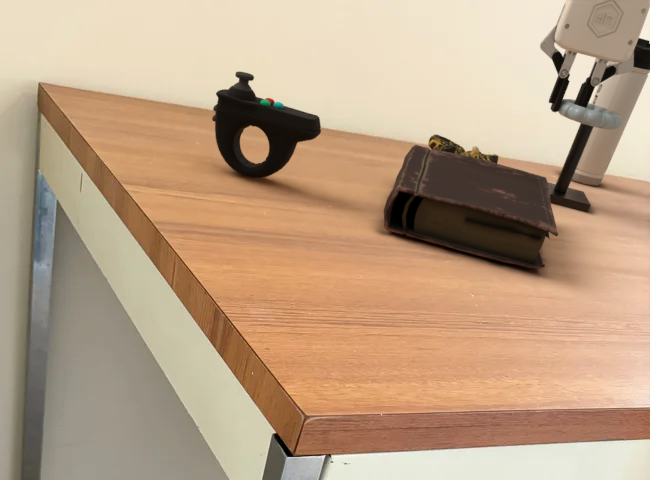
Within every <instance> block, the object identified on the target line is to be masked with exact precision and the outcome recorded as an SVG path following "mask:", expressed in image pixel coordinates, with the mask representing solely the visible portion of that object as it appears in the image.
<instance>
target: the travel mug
mask: <svg viewBox="0 0 650 480" xmlns="http://www.w3.org/2000/svg"><path fill="white" fill-rule="evenodd" d="M617 63H620V62H611V61H608V63H607V66H608V65H613V64H617ZM649 74H650V40H648V39H644V38H641V37H639V38H638V41H637V44H636V46H635V48H634V66H633V70H632V71H631V72H629V73H624V74H619V75H613V76H611V77H610V78H608V79H606V80H605V81H603V82H601V83H600V84H599V85H598V86H596V90H595V92H594V94H593V97H592V100H591V102H590V104H594V105H597V106H600V107H603V108H606V109H609V110H611V111H614V112H616V113H618V114H619V115H620V116H621V117H622V118H623V123H622V126H621V127H620V128H618V129H616V130H607V129H601V128H596V127H593V130H592V132H591V134H590V137H589V139H588V142H587V144H586V146H585V149H584V151H583V154H582V156H581V158H580V161H579V163H578V166H577V168H576V170H575V173H574V175H573V178H572V180H571V181H572V182H576V183H579V184H583V185H586V186H593V187H597V186H600V185H601V184H602V181H603V180H604V177H605V174H606V172H607V170H608V168H609V166H610V164H611V161H612V159H613V156H614V154H615V152H616V150H617V148H618V145H619V143H620V140H621V138H622V136H623V134H624V132H625V128H626V127H627V124H628V122H629V120H630V118H631V115H632V114H633V111H634V109H635V107H636V104H637V102H638V100H639V97H640V96H641V93H642V90H643V89H644V86H645V84H646V81H647V79H648V77H649Z"/></svg>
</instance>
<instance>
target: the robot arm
mask: <svg viewBox="0 0 650 480" xmlns="http://www.w3.org/2000/svg"><path fill="white" fill-rule="evenodd" d="M649 11H650V0H565V2H564V5H563V6H562V8H561V12H560V14H559V17H558V18H557V22H556V24H555V26H553V28H552V29H551V30H550V31H549V32H548V34H547V35H546V36H545V37H544V39H542V41H541V42H540V44H539V49H540V50H541V51H542V52H543V53H544V54H545V55H546V56H547V57H548V58H550V59H551V60H552V63H553V65H554V68H555V71H556V73H557V78H556V80H555V83H554V85H553V88H552V90H551V93H550V96H549V98H548V103H549V104H551V105H550V111H551V112H553V113H559V112H558V110H559V108H560V105H561V103H562V100H563V99H564V97H565V95H566V93H567V90H568V87H569V84H570V80H569V79H570V76H571V74H570V72H571V69H572V66H573V65H574V62H575V59H576V57H577V55H578V54H579V55H584V56H587V57H592V58H595V60H594V63H593V65H592V67H591V70H590V73H589V75H588V76H587V77H586V79H585V81H584V82H582V83H581V85H580V88H579V90H578V92H577V95H576V98H575V99H574V100H575V103H574V104H576V105H578V106H581V107H584V108H587V105H588V103H590V100H591V98H592V96H593V93H594V91H595V89H596V87H598V85H599V84H600V83H601V82H603V81H605V80H606V79H608V78H610V77H611V76H613V75H619V74H624V73H629V72H631V71H632V70H633V66H634V48H635V46H636V44H637V41H638V38H640V36H641V33H642V30H643V28H644V25H645V23H646V19H647V17H648V14H649ZM555 45H557V46H558V47H560V48H561V49H563V50H564V53H563V54H562V53H561V52H560V50H559V49H558V48H556V46H555ZM608 61H611V62H620V63H617V64H613V65H608V66H607V64H608Z"/></svg>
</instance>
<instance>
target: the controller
mask: <svg viewBox="0 0 650 480" xmlns="http://www.w3.org/2000/svg"><path fill="white" fill-rule="evenodd" d="M234 76H235V77H236V78H237V79H238V82H236V83H234V84H233V85H231V86H229V88H228V89H225V88H224V89H220V90H218V91H216V93H215V95H216V97H217V100H216V101H217V102H216V104H215V105H214V106H213V108H212V110H213V111H214V113H215V114H214V115H213V116H212V118H211V120H212V122H214V134H215V142H216V146H217V148H218V152H219V153H220V155H221V157H222V159H223V160H224V162H225V163H226V164H227V165H228V167H230V168H231V169H232V170H233V171H234V172H236V173H238V174H239V175H241V176H244V177H246V178H252V179H262V178H263V179H264V178H267V177H270V176H272V175H274V174H276V173H278V172H279V171H281V170H283V168H284V167H285V166H286V165H287V164H288V163H289V162H290V161H291V158H292V157H293V155H294V153H295V150H296V148H297V146H298V143H301V142H308V141H313V140H315V139H316V138H317V137H318V136H319V135H320V134H321V133H322V129H321V120H320V116H319V115H316V114H313V113H309V112H306V111H303V110H299V109H296V108H293V107H290V106H286V105H284V104H283V103H282V102H281V101H275V100H274V99H273V98H271V97H267V98H265V99H264V98H261V97H258V96H256V93H255V91H254V90H253V89H252V86H250V83H249V82H253V81H254V80H255V76H254V74H251V73H249V72H245V71H236V72H235V74H234ZM250 126H251V127H253V128H254V127H255V128H258V129H260V130H261V131H262V132H263V133H264V134H265V136H266V138H267V141H268V153H267V156H266V158H265V160H263V161H261V162H258V163H255V162H253V161H250V160H249V159H248V158H246V156H245V155H244V153H243V151H242V148H241V137H242V134H243V133H244V130H245V129H246V128H249V127H250Z"/></svg>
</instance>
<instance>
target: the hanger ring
mask: <svg viewBox="0 0 650 480" xmlns="http://www.w3.org/2000/svg"><path fill="white" fill-rule="evenodd" d="M575 100H576V99H572V98H563V100H562V103H561V105H560V108H559V110H558V112H557V113H559V115H560V116H562V117H564V118H566V119H569V120H571V121H574V122H576V123H580V124H581V123H582V124H585V125H589V126H593V127H596V128H601V129H607V130H616V129H618V128H620V127H621V126H622V123H623V118H622V117H621V116H620V115H619V114H618V113H616V112H614V111H611V110H609V109H606V108H603V107H600V106H597V105H594V104H591V102H589V103H588V105H587V108H584V107H581V106H578V105H576V104H574V103H575Z"/></svg>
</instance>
